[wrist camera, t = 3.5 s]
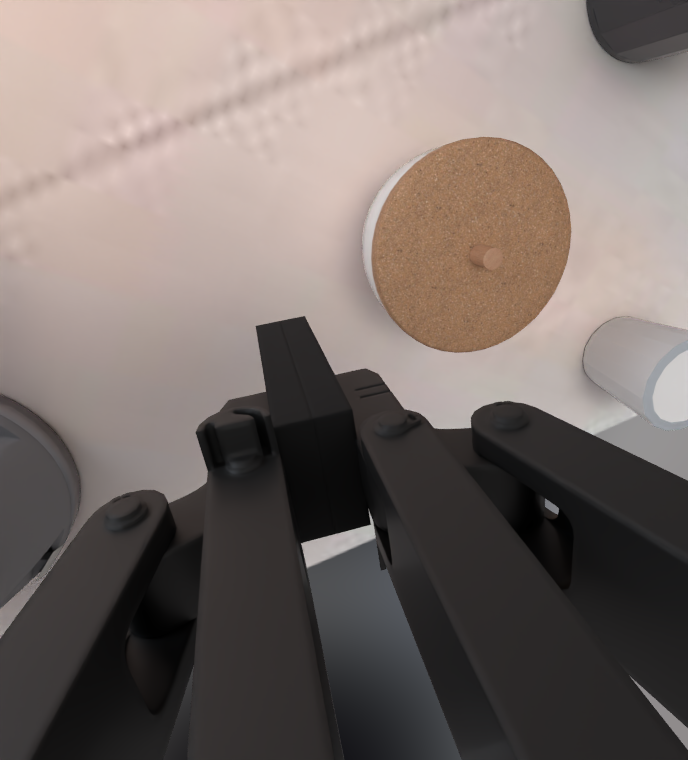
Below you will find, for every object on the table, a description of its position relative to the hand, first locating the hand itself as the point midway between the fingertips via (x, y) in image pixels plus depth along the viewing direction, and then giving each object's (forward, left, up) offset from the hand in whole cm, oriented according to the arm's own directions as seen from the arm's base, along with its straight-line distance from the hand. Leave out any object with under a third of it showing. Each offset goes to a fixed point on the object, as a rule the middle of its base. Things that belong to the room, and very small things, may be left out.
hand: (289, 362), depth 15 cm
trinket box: (+11, 0, -17) cm, 20 cm away
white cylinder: (+26, -11, -17) cm, 33 cm away
